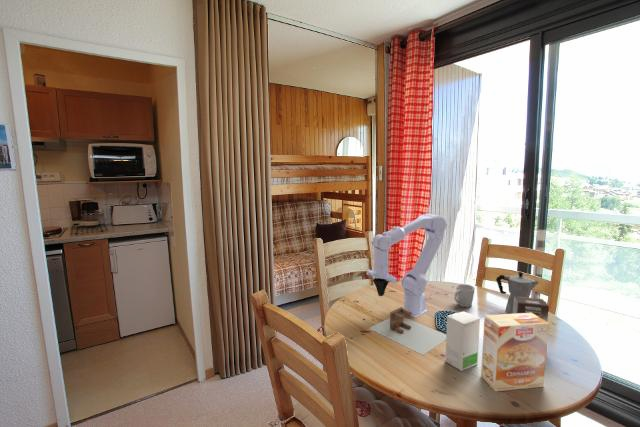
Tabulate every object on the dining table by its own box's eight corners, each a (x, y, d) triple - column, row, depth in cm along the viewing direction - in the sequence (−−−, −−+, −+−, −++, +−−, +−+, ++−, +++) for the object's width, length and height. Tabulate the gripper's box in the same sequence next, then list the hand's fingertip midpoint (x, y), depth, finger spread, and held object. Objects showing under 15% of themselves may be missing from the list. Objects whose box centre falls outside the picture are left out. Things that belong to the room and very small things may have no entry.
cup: (477, 306, 141) (478, 288, 140) (461, 310, 137) (462, 292, 136) (463, 300, 148) (464, 283, 147) (448, 304, 144) (448, 286, 143)
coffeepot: (535, 311, 135) (538, 271, 133) (537, 320, 127) (540, 278, 125) (495, 304, 143) (497, 266, 140) (494, 312, 135) (496, 272, 133)
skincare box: (461, 372, 96) (463, 324, 94) (443, 360, 102) (445, 315, 100) (478, 364, 100) (481, 317, 98) (461, 353, 106) (463, 309, 103)
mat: (396, 314, 134) (396, 314, 134) (450, 337, 116) (450, 336, 116) (368, 328, 123) (368, 328, 123) (423, 355, 105) (423, 355, 105)
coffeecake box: (495, 392, 87) (499, 326, 84) (479, 375, 94) (483, 314, 91) (545, 387, 88) (550, 322, 86) (526, 371, 95) (530, 311, 93)
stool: (389, 329, 122) (390, 312, 121) (400, 323, 126) (401, 307, 125) (401, 334, 118) (401, 316, 117) (411, 328, 122) (412, 311, 121)
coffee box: (514, 346, 109) (517, 302, 107) (510, 337, 115) (512, 295, 113) (545, 350, 106) (549, 305, 104) (539, 341, 112) (542, 298, 110)
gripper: (361, 262, 132) (361, 292, 134) (389, 270, 121) (389, 303, 123) (372, 258, 136) (372, 288, 138) (400, 266, 125) (399, 298, 127)
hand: (381, 295), depth 131 cm, fingers closed
